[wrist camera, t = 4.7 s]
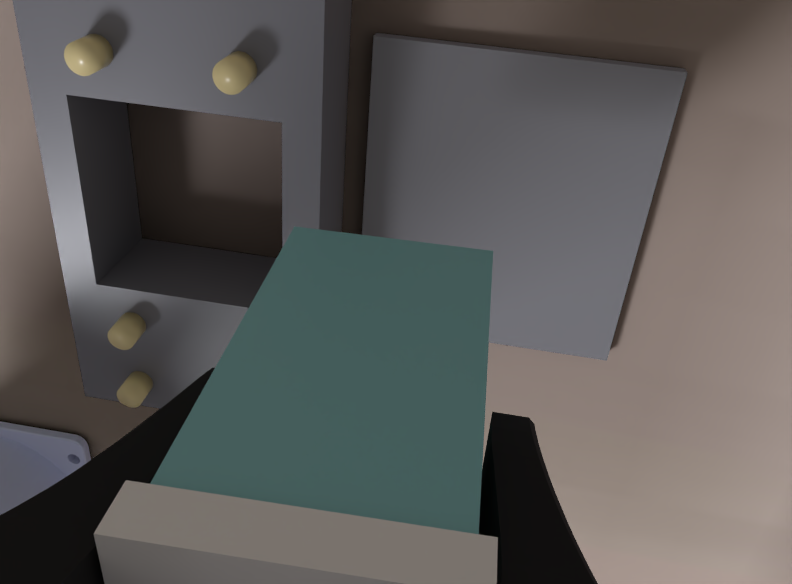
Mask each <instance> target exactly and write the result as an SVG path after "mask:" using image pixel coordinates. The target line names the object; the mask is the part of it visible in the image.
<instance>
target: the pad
mask: <svg viewBox="0 0 792 584" xmlns="http://www.w3.org/2000/svg"><path fill="white" fill-rule="evenodd" d="M686 76H687V71H686V70H685V69H684V68H676V67H667V66H658V65H650V64H641V63H633V62H624V61H615V60H607V59H598V58H590V57H581V56H572V55H564V54H555V53H546V52H538V51H529V50H521V49H512V48H503V47H495V46H486V45H478V44H469V43H460V42H452V41H443V40H435V39H426V38H417V37H409V36H400V35H391V34H383V33H376V34H375V35H374V38H373V55H372V72H371V89H370V106H369V123H368V140H367V157H366V174H365V191H364V208H363V225H362V235H368V236H376V237H384V238H392V239H401V240H409V241H417V242H425V243H433V244H441V245H449V246H457V247H465V248H474V249H482V250H490V251H493V265H492V285H491V304H490V324H489V342H490V343H496V344H503V345H509V346H516V347H522V348H529V349H535V350H542V351H548V352H555V353H561V354H568V355H574V356H581V357H587V358H594V359H600V360H607V358H608V354H609V351H610V347H611V344H612V340H613V337H614V333H615V329H616V326H617V322H618V319H619V315H620V312H621V308H622V304H623V301H624V297H625V294H626V290H627V287H628V283H629V280H630V276H631V272H632V269H633V265H634V262H635V258H636V255H637V251H638V247H639V244H640V240H641V237H642V233H643V230H644V226H645V223H646V219H647V215H648V212H649V208H650V205H651V201H652V198H653V194H654V190H655V187H656V183H657V180H658V176H659V173H660V169H661V166H662V162H663V158H664V155H665V151H666V148H667V144H668V141H669V137H670V133H671V130H672V126H673V123H674V119H675V116H676V112H677V109H678V105H679V101H680V98H681V94H682V91H683V87H684V84H685V80H686Z"/></svg>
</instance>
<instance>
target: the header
mask: <svg viewBox="0 0 792 584" xmlns="http://www.w3.org/2000/svg"><path fill="white" fill-rule="evenodd" d="M13 5H14V11H15V16H16V22H17V27H18V33H19V38H20V43H21V49H22V54H23V60H24V65H25V71H26V76H27V82H28V87H29V92H30V98H31V103H32V109H33V114H34V120H35V125H36V130H37V136H38V141H39V147H40V152H41V158H42V163H43V169H44V174H45V179H46V185H47V190H48V196H49V201H50V207H51V212H52V218H53V223H54V228H55V234H56V239H57V245H58V250H59V256H60V261H61V267H62V272H63V277H64V283H65V288H66V294H67V299H68V305H69V310H70V316H71V321H72V326H73V332H74V337H75V343H76V348H77V354H78V359H79V364H80V370H81V375H82V381H83V386H84V392H85V396H89V397H94V398H100V399H106V400H112V401H118V402H121V403H122V404H123V405H125V406H127V407H130V408H136V407H138V406H140V405H142V406H148V407H153V408H159V409H160V408H162V407H163V406H164V405H166V404H167V403H168V402H169V401H171V400H172V399H173V398H174V397H176V396H177V395H178V394H179V393H180V392H182V391H183V390H184V389H185V388H187V387H188V386H189V385H190V384H192V383H193V382H194V381H195V380H197V379H198V378H199V377H200V376H202V375H203V374H204V373H206V372H207V371H208V370H210V369H211V368H215V367H216V365H217V364H218V362H219V360H220V358H221V356H222V355H223V353H224V351H225V349H226V348H227V346H228V344H229V342H230V340H231V339H232V337H233V335H234V333H235V331H236V330H237V328H238V326H239V324H240V323H241V321H242V319H243V317H244V315H245V314H246V312H247V310H248V308H249V307H250V305H251V303H252V301H253V299H254V298H255V296H256V294H257V292H258V290H259V289H260V287H261V285H262V283H263V282H264V280H265V278H266V276H267V274H268V273H269V271H270V269H271V267H272V266H273V264H274V262H275V260H276V258H272V257H266V256H259V255H252V254H245V253H239V252H232V251H225V250H218V249H211V248H205V247H198V246H191V245H184V244H177V243H171V242H164V241H157V240H150V239H143V238H142V233H141V224H140V216H139V207H138V199H137V190H136V181H135V173H134V164H133V155H132V147H131V138H130V129H129V121H128V112H127V103H134V104H142V105H149V106H157V107H165V108H173V109H180V110H188V111H196V112H204V113H211V114H219V115H227V116H235V117H242V118H250V119H258V120H265V121H273V122H281V123H282V248H283V246H284V244H285V242H286V241H287V239H288V237H289V235H290V233H291V232H292V230H293V228H294V226H295V227H303V228H311V229H320V230H328V231H336V232H342V216H343V193H344V170H345V146H346V123H347V100H348V76H349V53H350V30H351V6H352V0H13Z"/></svg>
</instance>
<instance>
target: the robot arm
mask: <svg viewBox="0 0 792 584" xmlns="http://www.w3.org/2000/svg"><path fill="white" fill-rule="evenodd" d="M214 369H215V368H211V369H210V370H208V371H207V372H206V373H204V374H203V375H202V376H200V377H199V378H198V379H197V380H195V381H194V382H193V383H192V384H190V385H189V386H188V387H187V388H185V389H184V390H183V391H182V392H180V393H179V394H178V395H177V396H176V397H174V398H173V399H172V400H171V401H169V402H168V403H167V404H166V405H164V406H163V407H162V408H160V409H159V410H158V411H157V412H155V413H154V414H153V415H152V416H150V417H149V418H148V419H146V420H145V421H144V422H142V423H141V424H140V425H138V426H137V427H136V428H135V429H133V430H132V431H131V432H129V433H128V434H127V435H125V436H124V437H123V438H121V439H120V440H119V441H117V442H116V443H115V444H113V445H112V446H110V447H109V448H107V449H106V450H105V451H103V452H102V453H100V454H99V455H97V456H96V457H94V458H93V459H92V460H91V457H90V452H89V447H88V444H87V442H86V440H85V439H84V438H82V437H81V436H79V435H75V434H70V433H64V432H58V431H53V430H47V429H41V428H36V427H30V426H24V425H18V424H13V423H7V422H1V421H0V584H105V583H104V579H103V574H102V570H101V565H100V561H99V556H98V552H97V547H96V543H95V538H94V532H95V530H96V529H97V527H98V525H99V524H100V522H101V521H102V519H103V517H104V516H105V514H106V512H107V511H108V509H109V507H110V506H111V504H112V502H113V501H114V499H115V497H116V496H117V494H118V492H119V491H120V489H121V487H122V486H123V484H124V482H125V481H126V480H128V481H135V482H141V483H148V484H150V483H151V481H152V479H153V478H154V476H155V474H156V472H157V470H158V469H159V467H160V465H161V463H162V462H163V460H164V458H165V456H166V454H167V453H168V451H169V449H170V447H171V445H172V444H173V442H174V440H175V438H176V437H177V435H178V433H179V431H180V429H181V428H182V426H183V424H184V422H185V421H186V419H187V417H188V415H189V413H190V412H191V410H192V408H193V406H194V405H195V403H196V401H197V399H198V397H199V396H200V394H201V392H202V390H203V388H204V387H205V385H206V383H207V381H208V380H209V378H210V376H211V374H212V372H213V371H214ZM479 534H480V535H486V536H493V537H498V551H497V584H598V583H597V581H596V580H595V578H594V576H593V574H592V572H591V570H590V568H589V566H588V564H587V562H586V560H585V558H584V556H583V554H582V552H581V550H580V548H579V546H578V544H577V542H576V540H575V538H574V536H573V533H572V531H571V529H570V527H569V525H568V522H567V520H566V518H565V515H564V513H563V510H562V508H561V506H560V503H559V501H558V498H557V496H556V494H555V491H554V488H553V486H552V483H551V480H550V478H549V475H548V472H547V469H546V466H545V463H544V460H543V457H542V454H541V450H540V447H539V443H538V439H537V435H536V431H535V426H534V423H533V422H532V421H531V420H530V418H528V417H522V416H515V415H509V414H503V413H496V412H492V417H491V423H490V429H489V434H488V440H487V446H486V451H485V457H484V462H483V468H482V479H481V499H480V518H479Z"/></svg>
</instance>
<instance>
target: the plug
mask: <svg viewBox="0 0 792 584" xmlns="http://www.w3.org/2000/svg"><path fill="white" fill-rule="evenodd" d="M492 265H493V251H490V250H482V249H474V248H465V247H457V246H449V245H441V244H433V243H425V242H417V241H409V240H401V239H392V238H384V237H376V236H368V235H360V234H352V233H344V232H336V231H328V230H320V229H311V228H303V227H295V226H294V228H293V230H292V232H291V233H290V235H289V237H288V239H287V241H286V242H285V244H284V246H283V248H282V250H281V251H280V253H279V255H278V257H277V258H276V260H275V262H274V264H273V266H272V267H271V269H270V271H269V273H268V274H267V276H266V278H265V280H264V282H263V283H262V285H261V287H260V289H259V290H258V292H257V294H256V296H255V298H254V299H253V301H252V303H251V305H250V307H249V308H248V310H247V312H246V314H245V315H244V317H243V319H242V321H241V323H240V324H239V326H238V328H237V330H236V331H235V333H234V335H233V337H232V339H231V340H230V342H229V344H228V346H227V348H226V349H225V351H224V353H223V355H222V356H221V358H220V360H219V362H218V364H217V365H216V367H215V369H214V371H213V372H212V374H211V376H210V378H209V380H208V381H207V383H206V385H205V387H204V388H203V390H202V392H201V394H200V396H199V397H198V399H197V401H196V403H195V405H194V406H193V408H192V410H191V412H190V413H189V415H188V417H187V419H186V421H185V422H184V424H183V426H182V428H181V429H180V431H179V433H178V435H177V437H176V438H175V440H174V442H173V444H172V445H171V447H170V449H169V451H168V453H167V454H166V456H165V458H164V460H163V462H162V463H161V465H160V467H159V469H158V470H157V472H156V474H155V476H154V478H153V479H152V481H151V483H150V484H148V483H141V482H135V481H128V480H126V481H125V482H124V484H123V486H122V487H121V489H120V491H119V492H118V494H117V496H116V497H115V499H114V501H113V502H112V504H111V506H110V507H109V509H108V511H107V512H106V514H105V516H104V517H103V519H102V521H101V522H100V524H99V525H98V527H97V529H96V530H95V532H94V538H95V543H96V547H97V552H98V556H99V561H100V565H101V570H102V574H103V579H104V583H105V584H497V551H498V537H493V536H486V535H480V534H479V518H480V499H481V479H482V460H483V441H484V421H485V402H486V382H487V363H488V343H489V324H490V304H491V285H492Z"/></svg>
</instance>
